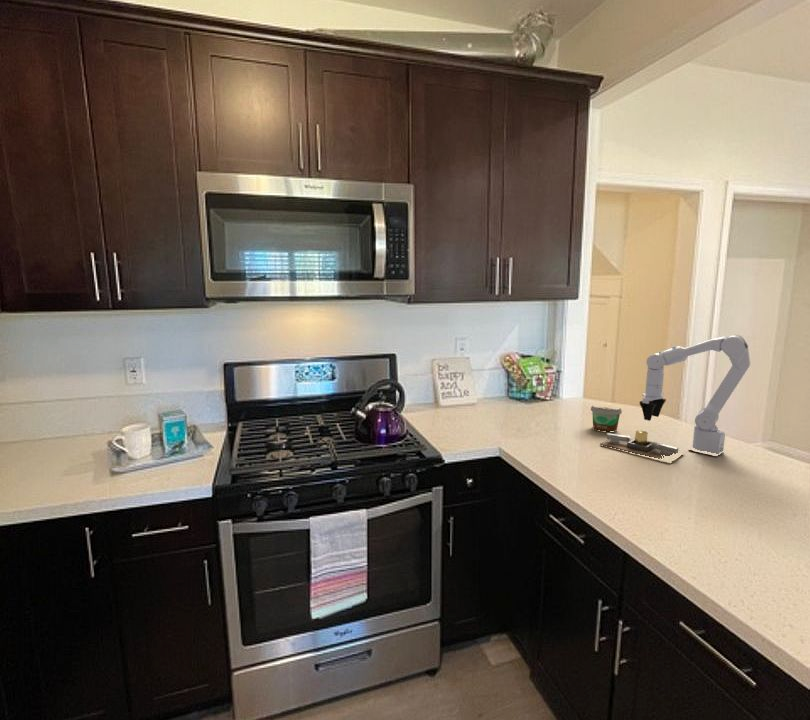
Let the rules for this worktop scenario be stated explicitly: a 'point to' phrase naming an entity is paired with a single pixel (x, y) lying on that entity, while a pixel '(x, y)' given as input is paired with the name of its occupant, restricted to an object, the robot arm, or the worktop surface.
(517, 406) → the worktop surface
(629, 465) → the worktop surface
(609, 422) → the food container
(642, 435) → the brass coupler
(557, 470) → the worktop surface
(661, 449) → the stand
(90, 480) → the worktop surface
